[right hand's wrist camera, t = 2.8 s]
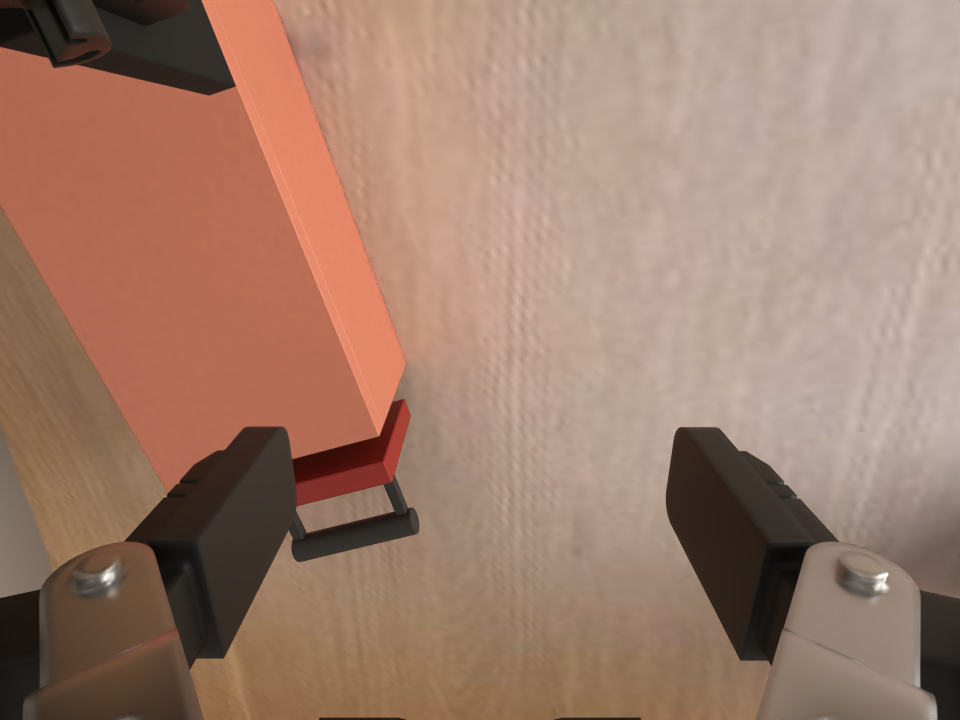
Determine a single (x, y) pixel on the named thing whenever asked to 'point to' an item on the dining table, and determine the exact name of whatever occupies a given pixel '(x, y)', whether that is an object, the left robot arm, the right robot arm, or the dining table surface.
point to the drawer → (349, 474)
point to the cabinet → (201, 247)
